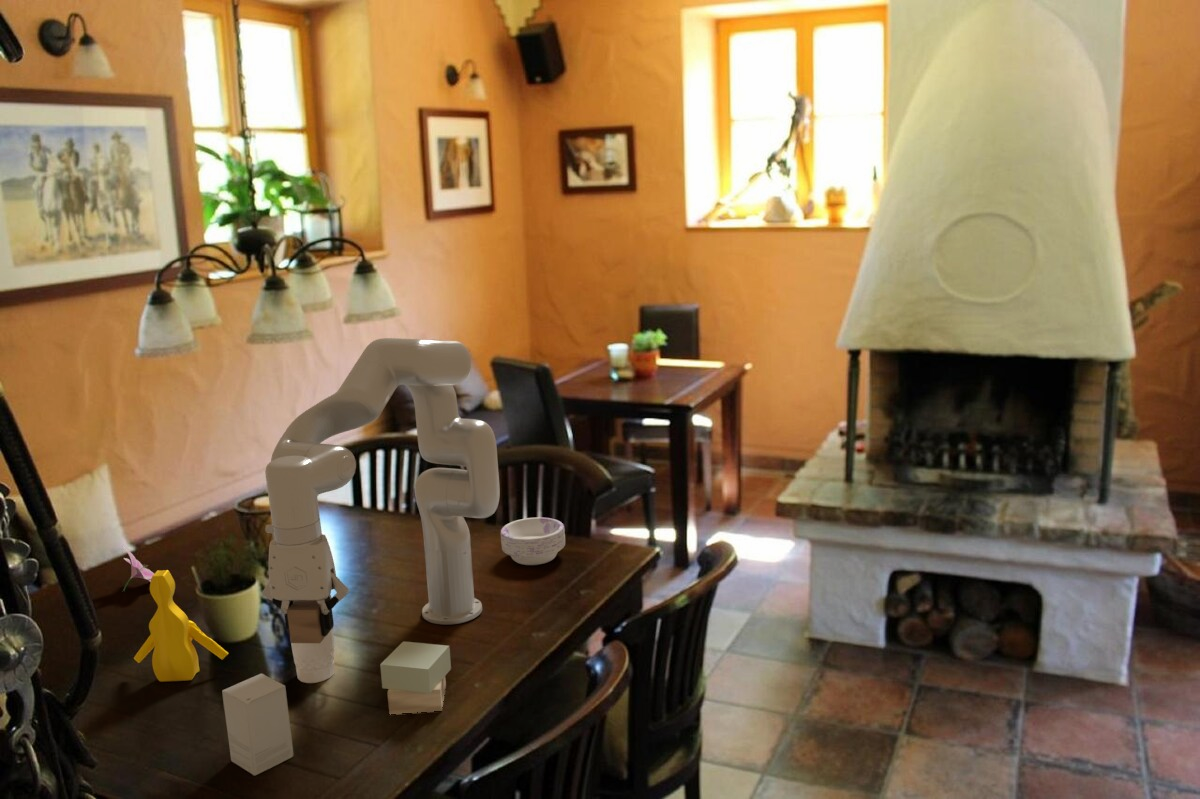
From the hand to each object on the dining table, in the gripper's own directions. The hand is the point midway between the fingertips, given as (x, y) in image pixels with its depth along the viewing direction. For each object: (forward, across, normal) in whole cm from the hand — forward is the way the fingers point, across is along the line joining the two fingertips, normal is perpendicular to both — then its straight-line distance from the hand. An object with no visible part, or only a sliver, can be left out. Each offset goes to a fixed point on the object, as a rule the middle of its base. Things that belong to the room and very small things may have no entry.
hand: (310, 631), depth 175 cm
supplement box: (+17, -5, -12) cm, 21 cm away
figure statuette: (+17, -33, +14) cm, 40 cm away
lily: (+18, -64, +54) cm, 86 cm away
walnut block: (+1, 0, 0) cm, 1 cm away
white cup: (+17, -7, +16) cm, 25 cm away
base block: (+17, +15, +8) cm, 24 cm away
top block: (+13, +15, +8) cm, 21 cm away
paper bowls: (+20, +24, +75) cm, 81 cm away
